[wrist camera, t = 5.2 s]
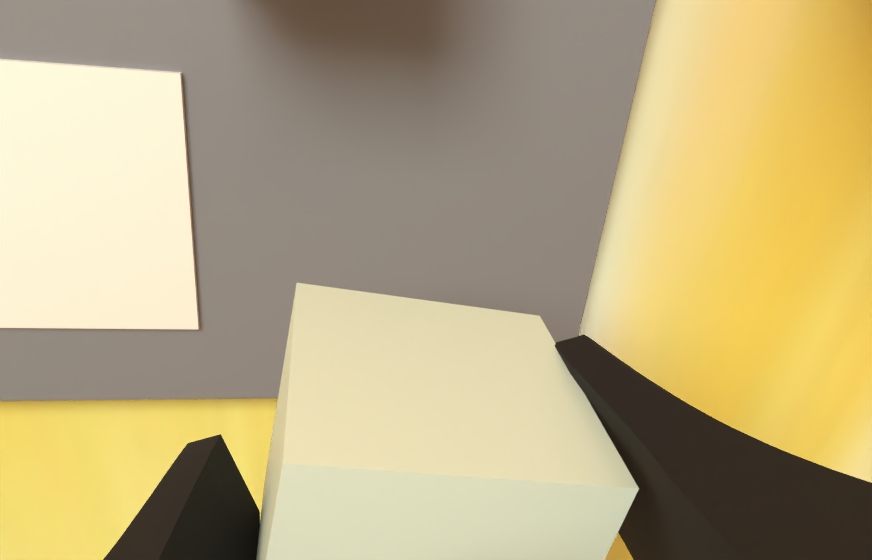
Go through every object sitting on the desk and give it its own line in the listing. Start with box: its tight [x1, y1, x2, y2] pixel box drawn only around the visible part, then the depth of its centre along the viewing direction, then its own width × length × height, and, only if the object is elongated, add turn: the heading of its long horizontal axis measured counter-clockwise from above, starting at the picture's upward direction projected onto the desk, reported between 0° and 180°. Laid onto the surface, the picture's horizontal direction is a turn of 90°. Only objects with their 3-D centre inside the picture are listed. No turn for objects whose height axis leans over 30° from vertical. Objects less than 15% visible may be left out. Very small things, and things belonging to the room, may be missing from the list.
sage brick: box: [256, 283, 639, 560], centre depth 11 cm, size 5×5×4 cm
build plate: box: [0, 0, 656, 401], centre depth 18 cm, size 20×19×1 cm
